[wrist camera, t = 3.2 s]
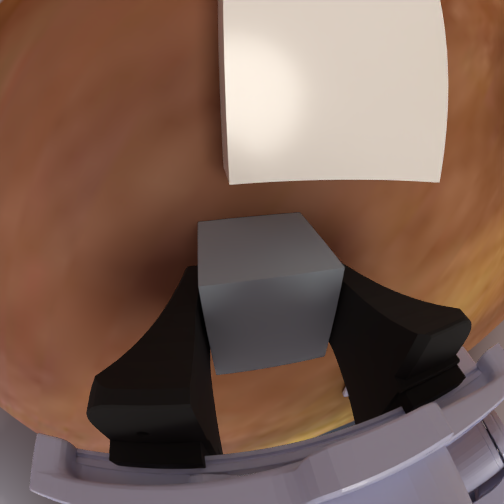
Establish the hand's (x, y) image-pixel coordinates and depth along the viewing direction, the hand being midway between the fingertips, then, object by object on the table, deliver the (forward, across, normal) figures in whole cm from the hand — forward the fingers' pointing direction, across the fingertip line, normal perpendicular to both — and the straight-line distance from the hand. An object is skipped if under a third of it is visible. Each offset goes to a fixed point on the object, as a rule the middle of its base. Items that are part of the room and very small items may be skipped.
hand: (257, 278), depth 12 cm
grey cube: (+1, 0, 0) cm, 1 cm away
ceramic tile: (+2, -4, -9) cm, 10 cm away
